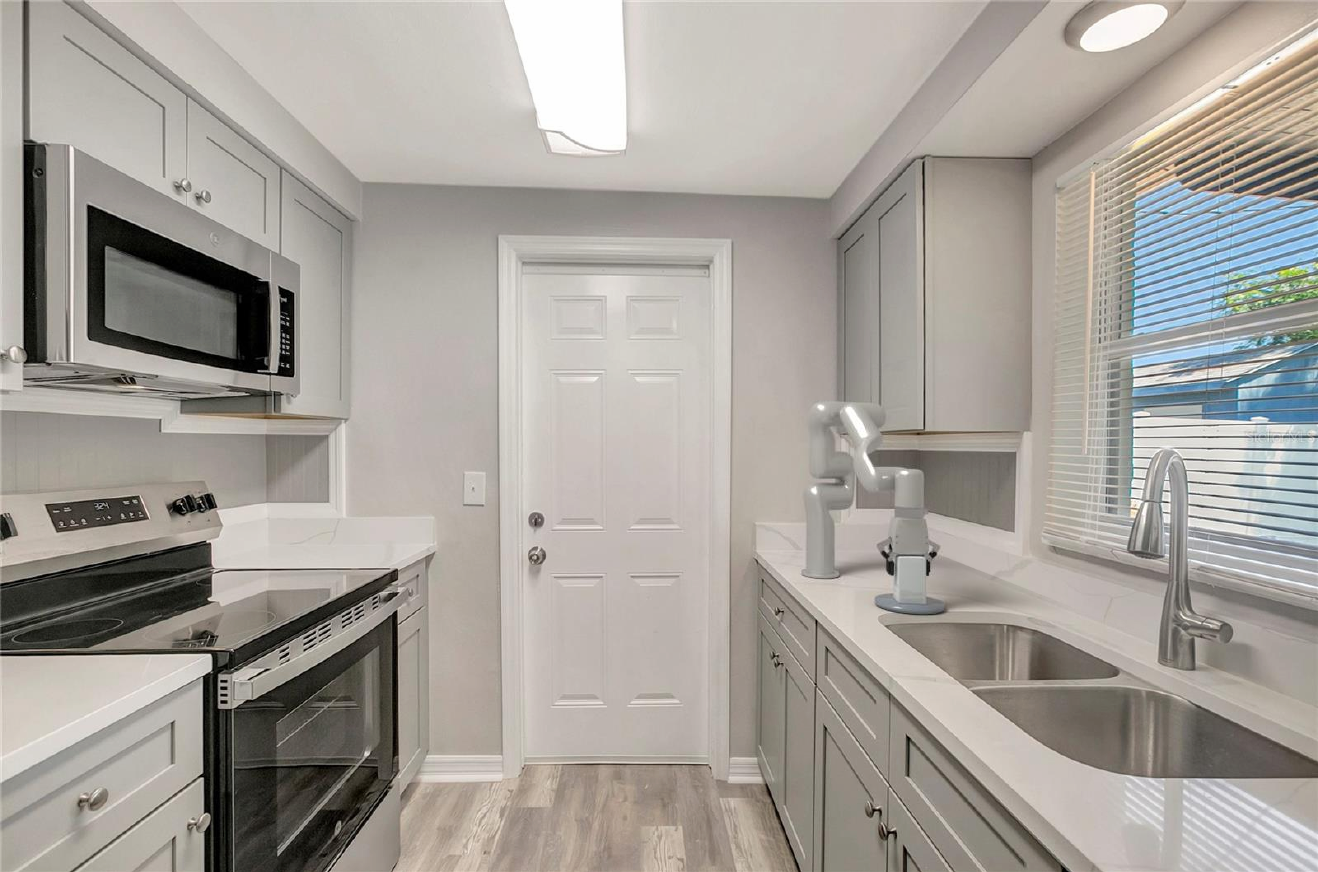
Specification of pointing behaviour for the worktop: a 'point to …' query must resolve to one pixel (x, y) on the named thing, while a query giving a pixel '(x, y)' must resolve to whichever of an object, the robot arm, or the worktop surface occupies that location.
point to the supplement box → (909, 579)
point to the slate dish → (909, 605)
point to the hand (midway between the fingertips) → (908, 574)
